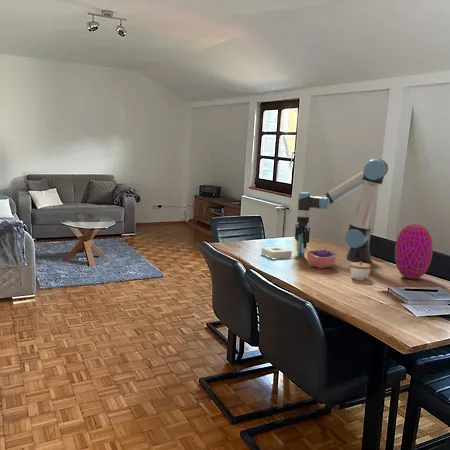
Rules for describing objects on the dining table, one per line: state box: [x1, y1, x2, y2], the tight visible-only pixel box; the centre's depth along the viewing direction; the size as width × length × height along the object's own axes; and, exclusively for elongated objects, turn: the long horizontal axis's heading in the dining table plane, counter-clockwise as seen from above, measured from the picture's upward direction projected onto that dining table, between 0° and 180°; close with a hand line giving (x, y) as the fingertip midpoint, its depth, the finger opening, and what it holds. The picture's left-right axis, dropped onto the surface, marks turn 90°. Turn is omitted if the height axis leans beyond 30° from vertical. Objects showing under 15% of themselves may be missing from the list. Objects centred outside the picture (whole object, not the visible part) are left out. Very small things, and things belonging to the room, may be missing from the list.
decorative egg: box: [394, 223, 433, 280], centre depth 258 cm, size 19×19×30 cm
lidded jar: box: [349, 261, 372, 281], centre depth 256 cm, size 11×11×9 cm
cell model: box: [306, 248, 338, 269], centre depth 277 cm, size 17×20×11 cm
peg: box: [296, 234, 305, 258], centre depth 304 cm, size 4×4×14 cm
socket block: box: [261, 246, 293, 259], centre depth 302 cm, size 14×14×4 cm
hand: (301, 251), depth 305 cm, fingers open, 6 cm apart
